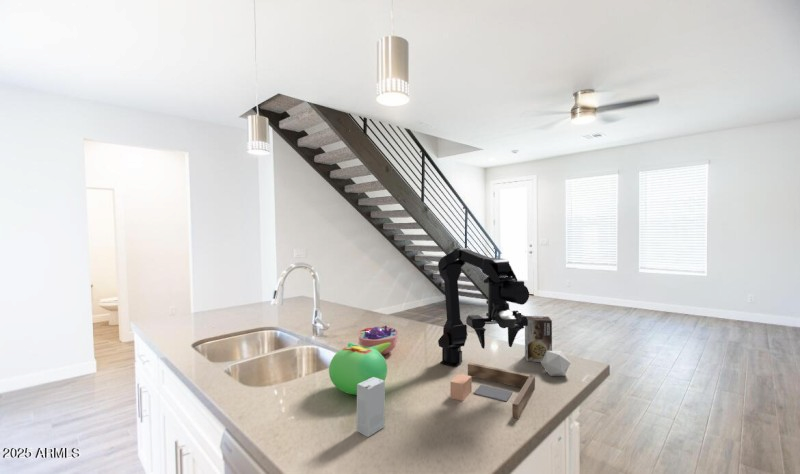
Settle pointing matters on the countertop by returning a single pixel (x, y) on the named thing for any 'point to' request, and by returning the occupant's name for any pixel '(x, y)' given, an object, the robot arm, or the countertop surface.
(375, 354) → the toy bird
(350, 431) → the countertop surface
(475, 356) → the countertop surface
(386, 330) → the cell model
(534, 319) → the coffee box
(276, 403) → the countertop surface
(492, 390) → the mat
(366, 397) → the skincare box
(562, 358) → the die
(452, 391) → the block
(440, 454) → the countertop surface
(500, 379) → the wooden corner wall
